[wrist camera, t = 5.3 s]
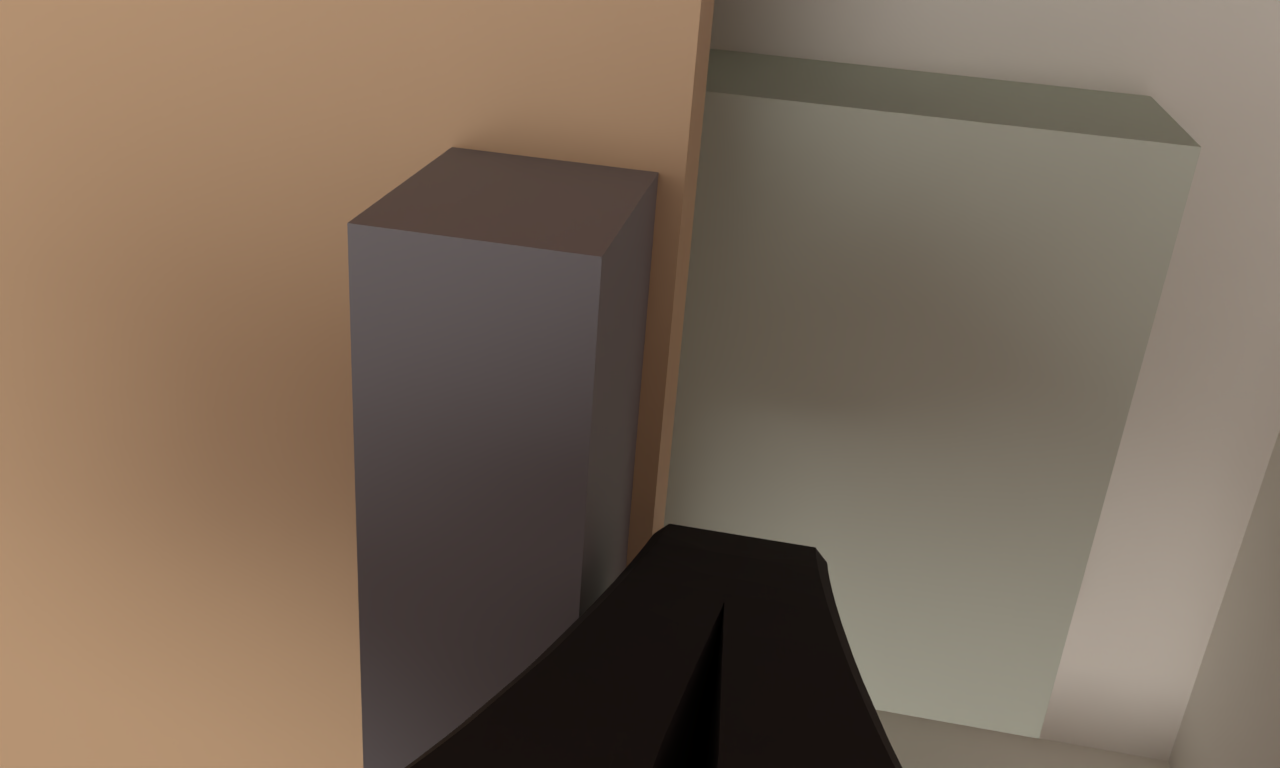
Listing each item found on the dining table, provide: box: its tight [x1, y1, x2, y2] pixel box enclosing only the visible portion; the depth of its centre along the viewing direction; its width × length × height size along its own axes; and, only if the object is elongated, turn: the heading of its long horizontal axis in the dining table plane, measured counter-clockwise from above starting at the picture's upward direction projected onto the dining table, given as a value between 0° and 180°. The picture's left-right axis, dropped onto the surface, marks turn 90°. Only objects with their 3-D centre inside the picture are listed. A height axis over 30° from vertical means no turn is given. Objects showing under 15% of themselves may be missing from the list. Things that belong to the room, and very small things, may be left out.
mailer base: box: [664, 0, 1280, 768], centre depth 14 cm, size 14×12×5 cm
